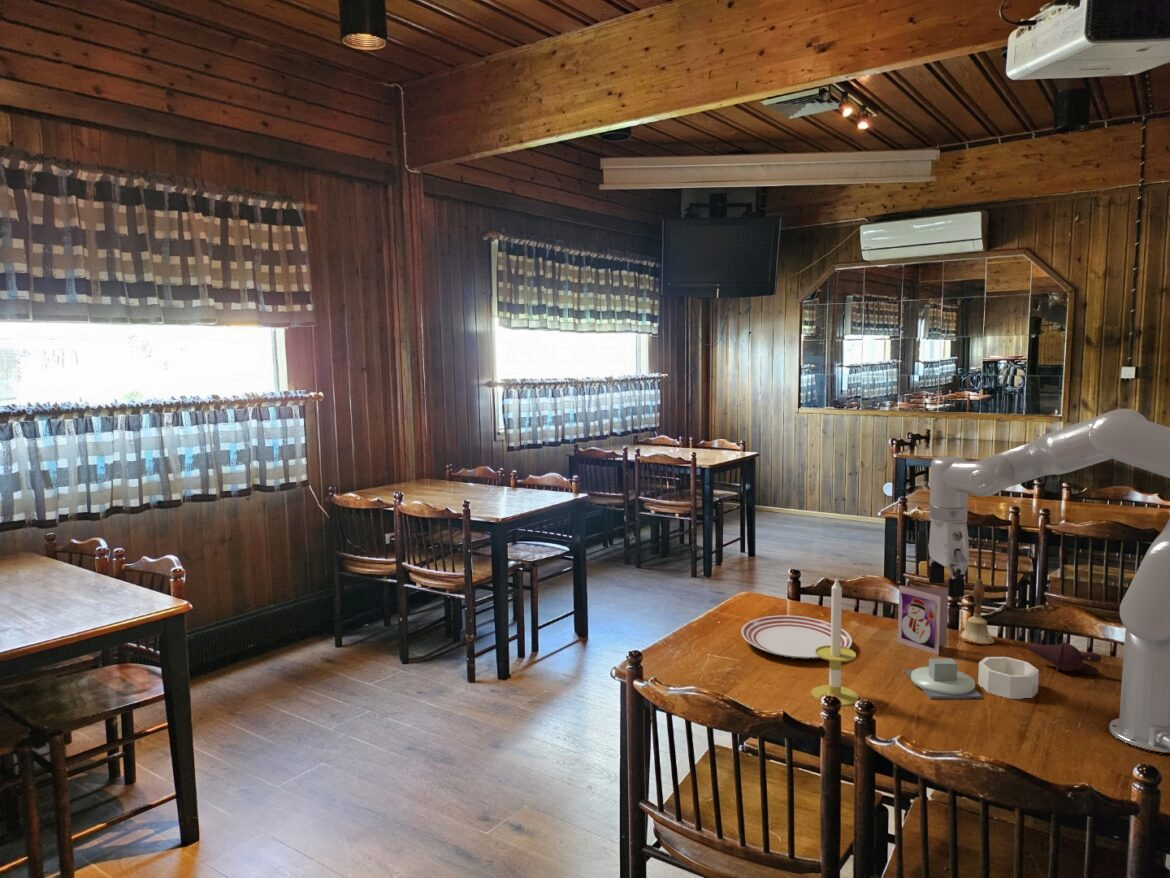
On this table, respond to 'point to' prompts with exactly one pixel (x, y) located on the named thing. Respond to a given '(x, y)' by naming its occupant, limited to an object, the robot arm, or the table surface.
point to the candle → (836, 654)
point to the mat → (943, 696)
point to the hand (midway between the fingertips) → (945, 589)
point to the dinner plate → (791, 635)
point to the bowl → (1008, 677)
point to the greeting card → (923, 617)
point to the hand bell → (977, 619)
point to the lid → (943, 678)
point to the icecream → (1067, 657)
